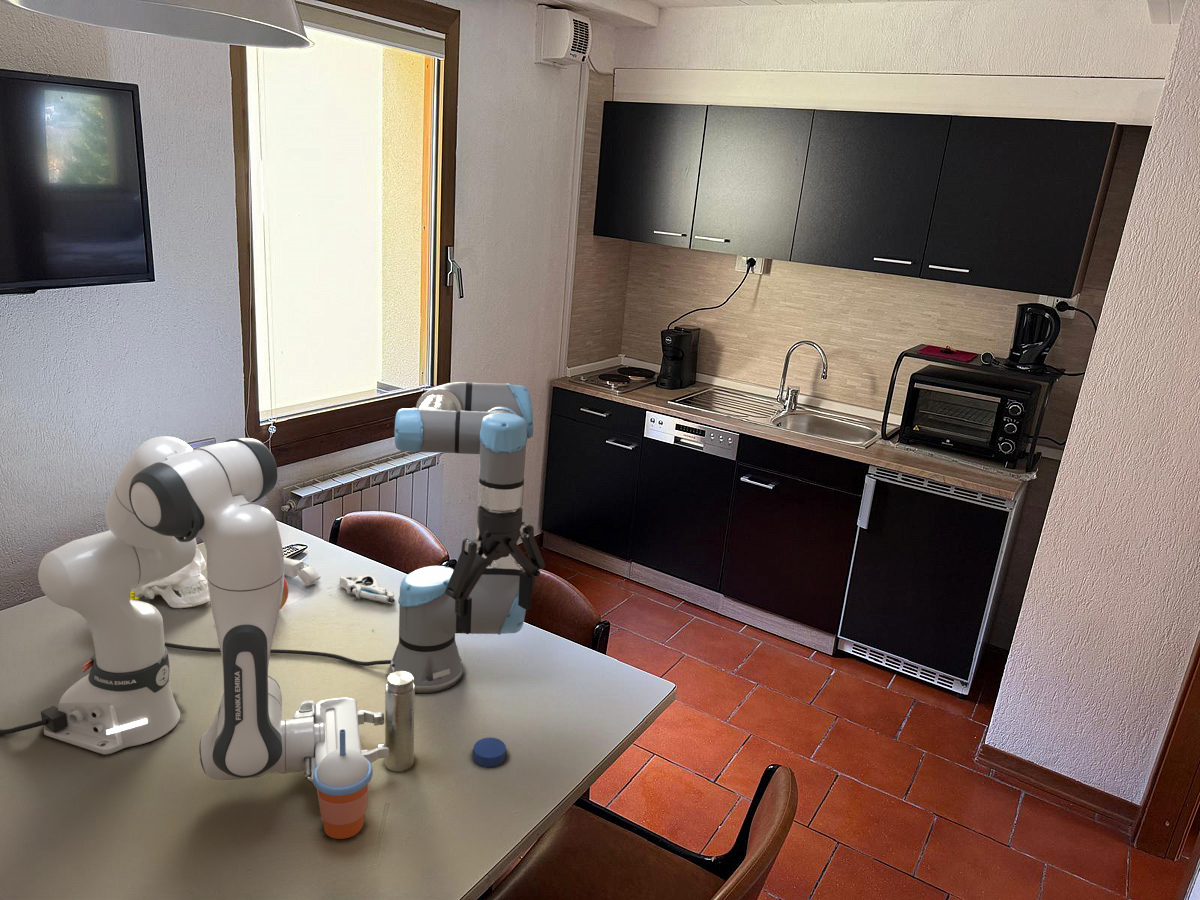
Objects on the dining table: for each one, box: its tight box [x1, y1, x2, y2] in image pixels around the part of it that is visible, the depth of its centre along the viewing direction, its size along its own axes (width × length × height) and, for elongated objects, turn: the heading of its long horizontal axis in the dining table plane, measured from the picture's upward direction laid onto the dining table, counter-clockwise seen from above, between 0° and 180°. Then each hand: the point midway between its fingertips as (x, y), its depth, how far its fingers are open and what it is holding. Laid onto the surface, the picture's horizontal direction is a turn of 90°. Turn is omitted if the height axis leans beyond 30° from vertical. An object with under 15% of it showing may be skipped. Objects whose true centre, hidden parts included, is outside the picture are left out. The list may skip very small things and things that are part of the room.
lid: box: [472, 737, 507, 768], centre depth 158 cm, size 6×6×2 cm
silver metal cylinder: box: [384, 671, 416, 773], centre depth 152 cm, size 5×5×18 cm
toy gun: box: [338, 574, 395, 604], centre depth 214 cm, size 18×2×10 cm
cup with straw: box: [312, 729, 374, 840], centre depth 136 cm, size 9×9×18 cm
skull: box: [137, 545, 210, 609], centre depth 203 cm, size 13×22×16 cm, turn 73°
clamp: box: [283, 556, 322, 587], centre depth 219 cm, size 20×4×7 cm, turn 62°
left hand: (386, 733), depth 152 cm, fingers open, 8 cm apart
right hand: (495, 618), depth 150 cm, fingers open, 13 cm apart
